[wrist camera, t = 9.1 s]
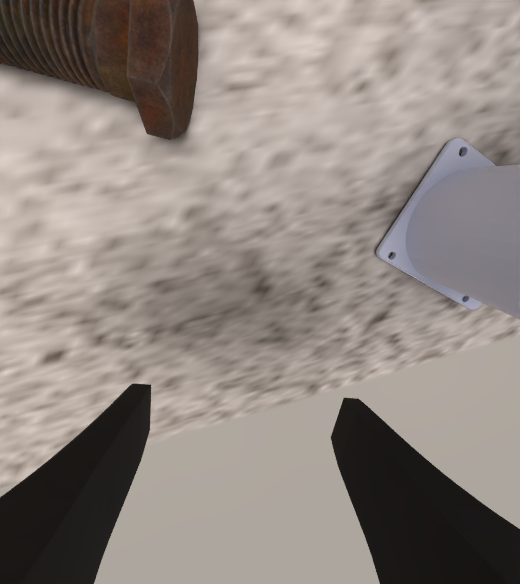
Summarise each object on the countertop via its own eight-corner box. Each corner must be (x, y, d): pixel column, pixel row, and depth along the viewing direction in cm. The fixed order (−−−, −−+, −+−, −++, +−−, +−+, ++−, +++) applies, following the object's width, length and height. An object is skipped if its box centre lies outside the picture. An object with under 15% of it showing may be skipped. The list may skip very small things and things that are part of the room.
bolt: (-98, -2, 13) (201, 83, 15) (-142, 81, 13) (182, 161, 14) (-328, -248, 8) (192, -65, 10) (-440, -129, 7) (160, 47, 9)
